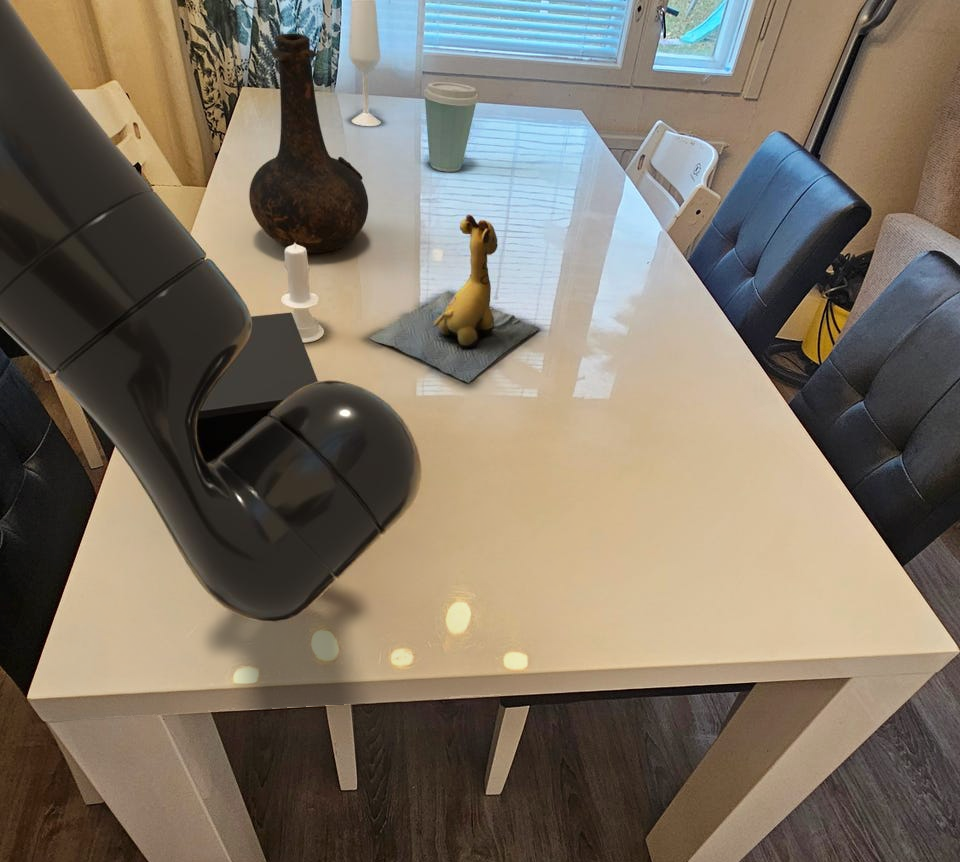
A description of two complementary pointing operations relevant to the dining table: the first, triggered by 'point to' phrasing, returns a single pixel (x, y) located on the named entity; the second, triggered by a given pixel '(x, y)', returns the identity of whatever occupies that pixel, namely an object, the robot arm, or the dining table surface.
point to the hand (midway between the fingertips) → (272, 519)
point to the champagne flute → (364, 50)
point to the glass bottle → (305, 167)
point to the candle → (301, 293)
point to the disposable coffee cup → (448, 123)
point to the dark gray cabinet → (262, 369)
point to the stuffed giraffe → (460, 319)
